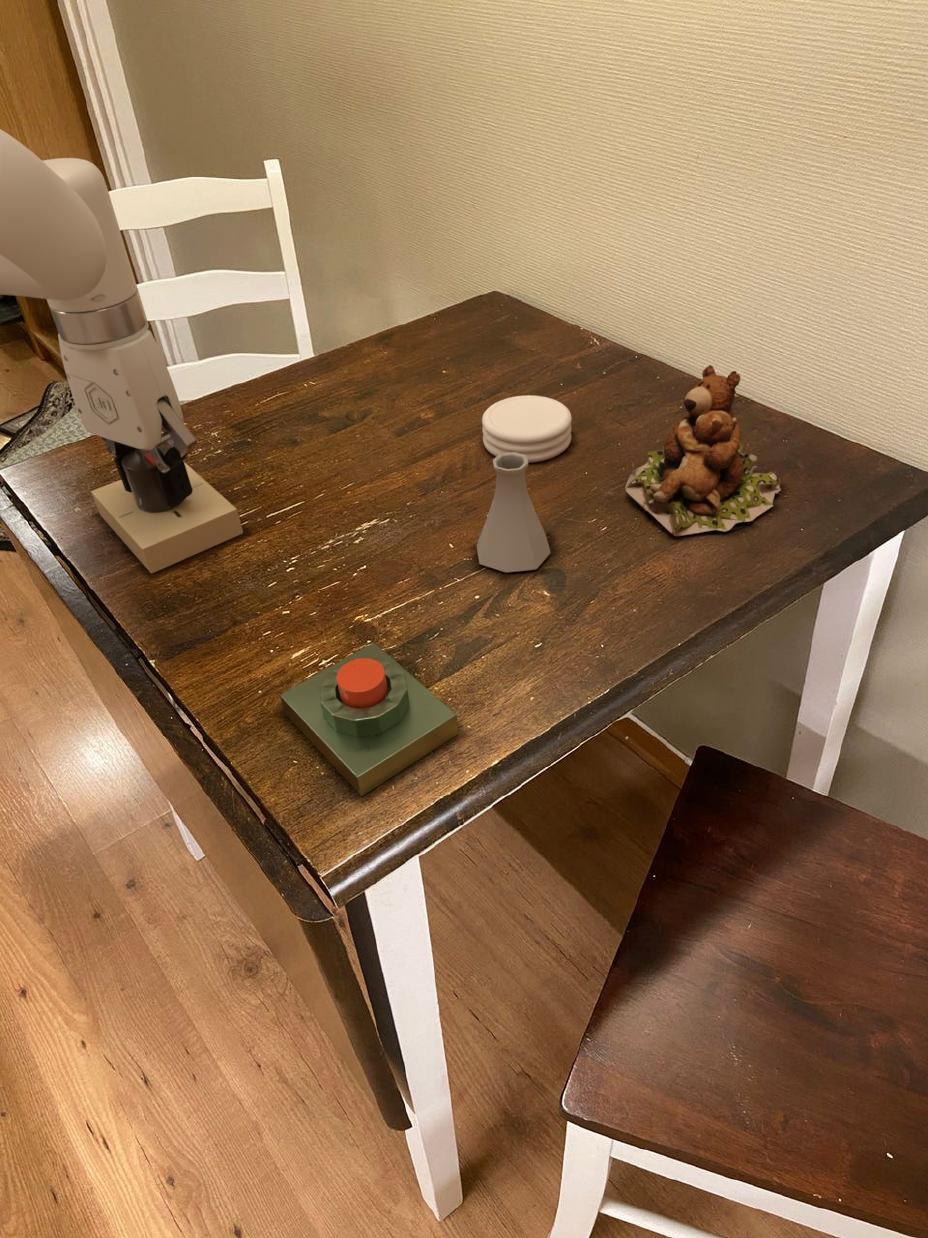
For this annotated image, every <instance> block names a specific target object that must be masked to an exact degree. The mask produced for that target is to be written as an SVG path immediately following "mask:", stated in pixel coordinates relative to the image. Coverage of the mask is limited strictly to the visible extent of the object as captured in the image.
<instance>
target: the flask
mask: <svg viewBox="0 0 928 1238" xmlns="http://www.w3.org/2000/svg"><path fill="white" fill-rule="evenodd" d="M492 464H493V470H494V473H495V474H496V482H495V489H494V496H493V499H492V501H491V505H490V508H489V511H488V514H487V517H486V520H485V522H484V524H483V527H482V530H481V532H480V535H479V538H478V541H477V543H476V551H477V559H478V564H479V565H481V566H484V567H487V568H491V569H494V570H497V571H500V572H503V573H513V572H515V573H516V572H524V571H525V572H526V571H534V570H538V568H539V567H540V566H541V565H542V564H543V563H544V561H545V560H546V559H547V558H548V557H549V555H551V548H550V545H549V541H548V538H547V534H546V532H545V530H544V528H543V527H544V526H543V525H542V523H541V521H540V518H539V516H538V514H537V512H536V510H535V507H534V505H533V502H532V500H531V498H530V495H529V491H528V487H527V483H526V470H527V469H528V467H529V463H528V460H527V457H526V455H523V454H519V453H515V452H510V453H500V454H499V455H498V456H497V457H496V456H495V458H493V459H492Z"/></svg>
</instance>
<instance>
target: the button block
mask: <svg viewBox="0 0 928 1238" xmlns="http://www.w3.org/2000/svg"><path fill="white" fill-rule="evenodd" d="M361 658H368V659H373V660H376V661H378V662H379V663H380V664H381V665H382V666H383V667H384V670H385V675H386V681H387V687H388V690H387V694H386V696H385V697H384V699H383V700H382V701H381V702H379V703H378V704H376V705H374V706H372V707H365V708H353V707H350V706H348V705H346V704H345V703H344V702H343V701H342V699H341V697H340V693H339V688H338V684H337V673H338V671H339V670H340V668H341V667H342V666H343V665H345V664H346V663H348V662H350V661H352V660H355V659H361ZM279 697H280V702H281V704H282V709H283V713H284V715H285V716H286V717H287V718H288V720H290V721H291V722H292V723H293V724H294V725H295V727H296V728H297V729H298V730H299V731H300V732H301V733H302V734H303V735H304V737H306V739H308V741H309V742H310V743H311V744H312V745H313V746H314V747H315V748H316V749H317V750H318V752H320V753H321V755H322V756H323V757H324V758H325V760H327V761H328V762H329V763H330V765H331V766H332V767H333V768H335V770H336V771H337V772H338V773H339V774H340V775H341V776H342V777H343V778H344V780H345V781H347V783H348V784H349V785H350V786H351V787H352V788H353V789H354V790H355V791H356V792H357V793H358V795H359V796H360V797H363V796H365V795H368V793H370V792H371V791H373V790H374V789H376V788H378V787H379V786H381V785H382V784H384V783H385V782H387V781H389V780H390V779H392V778H393V777H394V776H396V775H398V774H399V773H401V772H402V771H404V770H405V769H406V768H408V767H409V766H412V765H413V764H415V763H417V762H418V761H420V760H421V759H422V758H424V757H426V756H427V755H428V754H430V753H432V752H433V751H434V750H437V749H438V748H440V747H441V746H442V745H444V744H446V743H447V742H449V741H450V740H452V739H453V738H455V737H456V736H458V735H459V734H460V733H459V723H458V715H457V713H456V712H455V711H453V709H451V708H450V707H449V706H448V705H446V704H445V703H444V702H443V701H442V700H441V699H439V697H438V696H436V695H435V694H434V693H433V692H431V690H429V689H428V687H426V686H425V685H423V683H421V681H419V680H418V679H417V678H415V676H413V675H412V674H411V672H409V671H408V670H407V669H405V668H404V667H403V666H402V665H401V664H400V663H398V662H397V661H396V660H395V659H394V658H393V657H392V656H391V655H389V654H388V653H387V652H386V651H384V650H383V649H382V647H380V646H379V645H378V644H376V642H372V643H370V644H369V645H367V646H365V647H363V648H361V649H359V650H358V651H356V652H353V653H352V654H351V655H349V656H347V657H345V658H343V659H342V660H340V661H337V662H336V663H334V664H333V665H331V666H329V667H327V668H325V669H323V670H322V671H319V672H318V673H316V674H315V675H312V676H311V677H308V678H307V679H305V680H304V681H301V682H300V683H298V684H297V685H295V686H293V687H291V688H290V689H287V690H286V691H284V692H282V693H280V694H279Z"/></svg>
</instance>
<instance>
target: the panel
mask: <svg viewBox="0 0 928 1238" xmlns="http://www.w3.org/2000/svg"><path fill="white" fill-rule="evenodd" d="M184 464H185V467H186V470H187V473H188V477H189V480H190V483H191V486H192V490H193V491H192V494H191V495H189V496H188V497H186V498H185V500H184V501H183V502H182V503H181V504H180V505H178V506H176V507H175V508H172V509H170V510H167V511H163V512H156V513H151V512H145V511H142V510H140V509H139V508H138V507H137V504H136V501H135V499H134V496H133V493H130V492H127V491H126V490H125V488H124V485H123V483H122V480H121V479H119V480H117V481H113V482H111V483H109V484H106V485H103V486H101V487H98V488H96V489H94V490H91V491H90V494H91V495H92V498H93V501H94V503H95V505H96V509H97V511H98V513H99V515H100V517H101V518H102V519H103V520H104V521H105V522H106V523H107V524H108V526H109V527H110V528H111V530H113V531H114V532H115V533H116V535H117V536H118V537H119V538H120V539H121V541H122V542H123V543H124V544H125V545H126V547H128V549H129V550H130V551H131V552H132V553H133V554H134V556H135V557H136V558H137V559H138V560H139V561H140V562H141V564H142V565H143V566H144V567H145V568H146V569H147V571H148V572H149V573H150V574H154V573H156V572H157V573H158V571H161V570H164V569H166V568H168V567H170V566H173V565H174V564H177V563H179V562H182V561H184V560H186V559H188V558H191V557H192V556H195V555H197V554H199V553H202V552H205V551H206V550H209V549H211V548H213V547H216V546H218V545H220V544H222V543H224V542H226V541H229V540H231V539H234V538H236V537H239V536H241V535H243V534H244V530H243V526H242V523H241V520H240V515H239V512H238V509H237V508H236V507H235V505H233V504H232V503H231V502H230V501H229V500H227V499H226V498H225V497H224V496H223V495H222V494H221V493H220V492H219V491H217V489H216V488H214V487H213V486H212V485H211V484H210V483H209V482H207V481H206V480H205V479H204V478H203V477H202V476H201V475H199V474H198V472H196V471H195V470H194V469H193V468H192V467H190V466H189V464H187V463H186V462H185V461H184Z"/></svg>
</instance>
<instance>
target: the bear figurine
mask: <svg viewBox="0 0 928 1238" xmlns="http://www.w3.org/2000/svg"><path fill="white" fill-rule="evenodd" d="M701 375H702V379H700V380H699V381H698V382H697V383H696V384H695V385H694V387H693V388H692V389H691V390H690V391H688V392H687V394H686V395H685V397H684V399H683V405H684V409H685V410H686V413H684V414H683V415H682V416H681V417H680V419H679V420H677V423H676V424H674V425H673V427H672V429H671V431H670V432H669V434H668V436H667V437H666V438H665V441H664V444H663V447H662V448H663V450H662V449H661V450H660V449H659V450H657V451H656V450H655V451H651V450H649V451H648V452H647V453H646V454H647V457H648V459H647V462H646V463H645V464H643V465H641V466H639V467H637V468H635V469H633V470H631V471H630V474H629V476H628V478H627V482H626V484H625V492H626V493H627V494H628V495H629V496H630V497H631V498H632V499H633V500H634V501H635V502H636V503H637V504H638V505H639V506H640V507H641V508H643V510H644V511H645V512H646V513H648V515H650V516H651V517H654V518H655V519H656V521H658V522H659V523H660V524H661V525H662V527H664V528H665V529H666V530H667V531H668V532H669V533H670V534H672V535H673V536H674V537H681V536H687V535H693V534H699V533H704V532H705V533H706V532H711V531H719V532H724V533H725V532H728V531H732V530H734V529H736V527H735V525H736V524H739V523H743V522H744V523H746V522H753V521H754V520H755V519H756V518H757V517H758V516H760V515H762V514H763V513H765V512H766V511H768V510H769V509H772V507H774V499H775V494H777V495H778V494H779V493H780V492H781V490H782V489H781V487H780V486H781V481H780V479H779V477H778V476H777V475H776V473H777V471H775V472H773V471H769V472H767V473H764V472H753V471H754V470H755V469H756V468H758V465H753V464H755V463H757V461H758V460H759V459H758V458H759V457H758V456H756V455H755V454H753V453H752V452H751V451H749V452H746V449H745V448H744V446H743V444H742V443H741V442H742V430H741V424H740V422H739V420H738V419H737V418H736V417H735V415H734V412H733V409H732V406H733V404H734V401H735V396H736V394H737V390H736V388H737V386H739V385H740V382H741V375H740V373H737V370H733V371H731V372H730V373H729V374H728V375H727V377H726V376H725V375H719V374H717V373H716V370H715V368H714V366H713V365H711V364H709V365H708V366H706V367H705V368H704V369H703V370H702V374H701ZM752 465H753V466H752ZM751 466H752V467H751ZM733 527H735V528H733Z"/></svg>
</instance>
